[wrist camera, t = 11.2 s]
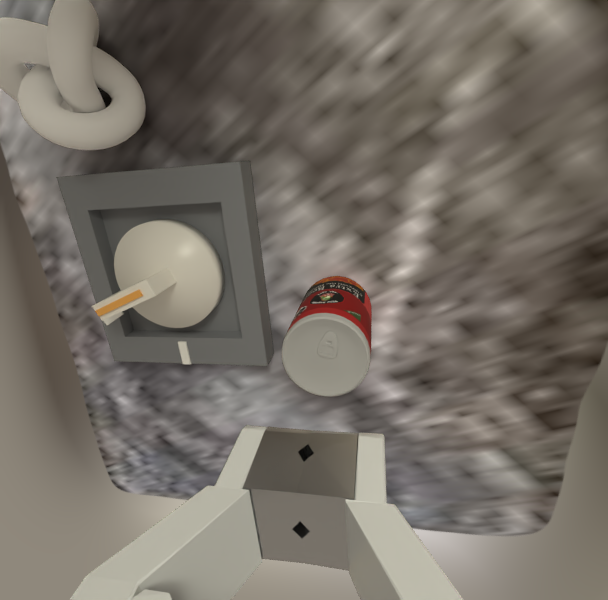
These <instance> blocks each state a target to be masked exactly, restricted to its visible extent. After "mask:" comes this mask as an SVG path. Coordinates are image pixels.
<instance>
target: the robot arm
mask: <svg viewBox="0 0 608 600" xmlns="http://www.w3.org/2000/svg"><path fill="white" fill-rule="evenodd" d="M262 559H270V560H280V561H290V562H299V563H307V564H313V565H319V566H325V567H330V568H337V569H342V570H348V571H349V574H350V576H351V578H352V581H353V583H354V585H355V588H356V590H357V593H358V595H359V597H360V599H361V600H463V598H462V597H461V596H460V594H459V593H458V591H457V590H456V589H455V587H454V586H453V584H452V583H451V582H450V580H449V579H448V578H447V576H446V575H445V574H444V572H443V571H442V569H441V568H440V566H439V565H438V564H437V562H436V561H435V560H434V558H433V557H432V555H431V554H430V553H429V551H428V550H427V549H426V547H425V546H424V544H423V543H422V542H421V540H420V539H419V537H418V536H417V535H416V533H415V532H414V531H413V529H412V528H411V526H410V525H409V524H408V522H407V521H406V519H405V518H404V517H403V515H402V514H401V512H400V511H399V510H398V508H397V507H396V506H395V505H394V504H387V502H386V472H385V443H384V436H383V434H375V433H348V432H330V431H311V430H300V429H289V428H278V427H261V426H250V425H246V426H245V427H244V428H243V429H242V430H241V432H240V434H239V436H238V439H237V441H236V443H235V445H234V447H233V449H232V451H231V453H230V455H229V457H228V459H227V461H226V463H225V465H224V468H223V470H222V472H221V474H220V476H219V478H218V480H217V482H216V484H215V486H206V487H205V488H204V489H202V490H201V491H200V492H198V493H197V494H196V495H194V496H193V497H192V498H190V499H189V500H188V501H186V502H185V503H184V504H182V505H181V506H180V507H178V508H177V509H175V510H174V511H173V512H172V513H170V514H169V515H167V516H166V517H165V518H163V519H162V520H161V521H159V522H158V523H157V524H155V525H154V526H153V527H151V528H150V529H149V530H147V531H146V532H145V533H143V534H142V535H140V536H139V537H138V538H136V539H135V540H134V541H132V542H131V543H130V544H128V545H127V546H126V547H124V548H123V549H122V550H120V551H119V552H118V553H116V554H115V555H114V556H112V557H111V558H110V559H108V560H107V561H106V562H104V563H103V564H102V565H100V566H99V567H97V568H96V569H95V570H94V571H92V572H91V573H89V574H88V575H87V576H86V577H85V578H84V580H83V581H82V583H81V584H80V586H79V587H78V588H77V590H76V592H75V593H74V594H73V596H72V597H71V599H70V600H231V599H232V598H233V597H234V596H235V594H236V593H237V592H238V591H239V589H240V588H241V587H242V586H243V585H244V583H245V582H246V581H247V580H248V578H249V577H250V576H251V575H252V574H253V572H254V571H255V570H256V568H257V567H258V566H259V565H260V564H261V563H262Z"/></svg>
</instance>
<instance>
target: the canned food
mask: <svg viewBox="0 0 608 600" xmlns="http://www.w3.org/2000/svg"><path fill="white" fill-rule="evenodd" d="M370 358H371V303H370V299H369V297H368V295H367V293H366V292H365V291H364V289H363V288H362V287H361V286H360V285H359V284H357V283H356V282H355V281H353V280H351V279H349V278H346V277H340V276H333V277H328V278H324V279H322V280H320V281H318V282H316V283H315V284H314V285H313V286H311V288H310V289H309V290H308V291H307V293H306V295H305V297H304V299H303V301H302V303H301V305H300V307H299V309H298V311H297V313H296V315H295V317H294V319H293V321H292V323H291V325H290V327H289V329H288V331H287V334H286V336H285V339H284V342H283V346H282V362H283V366H284V368H285V371H286V373H287V374H288V376H289V377H290V379H291V380H292V381H293V382H294V383H295V384H296V385H297V386H299V387H300V388H301V389H303V390H305V391H307V392H308V393H311V394H314V395H318V396H324V397H334V396H339V395H343V394H345V393H348V392H350V391H351V390H353V389H355V388H356V387H357V386H358V385H359V384H360V383H361V382H362V381H363V379H364V378H365V376H366V374H367V371H368V369H369V364H370Z"/></svg>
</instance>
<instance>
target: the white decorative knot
mask: <svg viewBox="0 0 608 600" xmlns="http://www.w3.org/2000/svg"><path fill="white" fill-rule="evenodd" d="M98 37H99V20H98V14H97V12H96V11H95V9H94V7H93V5H92V3H91V2H90V1H89V0H55V2H54V5H53V7H52V10H51V12H50V16H49V20H48V26H46V25H43V24H39V23H35V22H30V21H27V20H23V19H17V18H7V17H3V18H0V87H1V89H2V90H4V91H5V92H6V93H7V94H8V95H10V96H11V97H12V98H13V99H15V100H16V101H17V102H18V104H19V107H20V110H21V114H22V116H23V118H24V119H25V121H26V122H27V123H28V124H29V125H30V126H31V127H32V128H33V129H34V130H35V131H36V132H37V133H38V134H40V135H41V136H42V137H43V138H45V139H47V140H49V141H51V142H53V143H55V144H58V145H60V146H63V147H67V148H72V149H77V150H99V149H106V148H109V147H113V146H116V145H118V144H120V143H122V142H124V141H126V140H127V139H129V138H130V137H131V136H132V135H133V134H135V133H136V132H137V131H138V129H139V128H140V127H141V125H142V124H143V121H144V118H145V112H146V105H145V99H144V94H143V92H142V89H141V87H140V85H139V83H138V82H137V80H136V79H135V77H134V76H133V75H132V74H131V73H130V72H129V71H128V70H127V69H126V68H125V67H124V66H123V65H122V64H121V63H119V62H118V61H117V60H116V59H115V58H113V57H112V56H110V55H109V54H107V53H106V52H104V51H103V50H101V49H99V48H97V47H96V46H97V42H98ZM24 63H31V64H36V65H35V66H34V67H33V68H32V69H31V70H29V69H28V68H27V67H26V66H25V64H24ZM97 87H99V88H101V89H102V90H104V91H105V92H107V93H108V94H109V95H110V97H111V98H112V101H111V104H110V105H109V106H108V107H107V108H106V106H105V103H104V101H103V99H102V96H101V94H100V92H99V90H98V88H97Z"/></svg>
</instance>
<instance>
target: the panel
mask: <svg viewBox="0 0 608 600" xmlns="http://www.w3.org/2000/svg"><path fill="white" fill-rule="evenodd" d="M57 180H58V183H59V186H60V190H61V193H62V196H63V199H64V202H65V205H66V209H67V212H68V215H69V218H70V221H71V225H72V228H73V231H74V234H75V237H76V240H77V244H78V247H79V250H80V253H81V256H82V259H83V263H84V266H85V269H86V272H87V275H88V278H89V282H90V285H91V288H92V291H93V294H94V298H95V301H96V304H97V303H99V302H100V301H102V300H104V299H106V298H108V297H110V296H111V295H113V294H115V293H117V292H119V291H121V290H120V288H119V285H118V283H117V280H116V276H115V270H114V257H115V252H116V249H117V246H118V244H119V242H120V240H121V239H122V237H123V236H124V235H125V234H126V233H127V232H128V231H129V230H131V229H132V228H134V227H136V226H138V225H140V224H143V223H146V222H150V221H153V220H157V219H173V220H178V221H181V222H184V223H187V224H189V225H191V226H193V227H194V228H196V229H197V230H199V231H200V232H201V233H202V234H204V235H205V236H206V237H207V238H208V239H209V241H210V242H211V243H212V244H213V246H214V247H215V249H216V250H217V252H218V254H219V256H220V258H221V261H222V264H223V268H224V272H225V287H224V292H223V295H222V298H221V300H220V302H219V303H218V305H217V306H216V307H215V308H214V309H213V310H212V311H211V312H210V313H209V314H208V315H207V316H206V317H205V318H204V319H203V320H202V321H200V322H199V323H197V324H195V325H192V326H189V327H184V328H170V327H165V326H161V325H158V324H156V323H154V322H152V321H150V320H148V319H146V318H145V317H143V316H142V315H141V314H139V313H138V312H137V311H136V310H135V309H134V308H133V307H131V308H129V309H127V310H124V311H122V312H120V313H118V314H116V315H114V316H112V317H110V318H107V319H105V320H103V321H102V323H103V326H104V329H105V332H106V336H107V339H108V342H109V345H110V348H111V352H112V355H113V358H114V361H125V362H156V363H183V364H190V365H191V364H220V365H251V366H268V364H269V362H270V360H271V358H272V356H273V354H274V349H273V341H272V333H271V325H270V317H269V309H268V301H267V293H266V285H265V277H264V269H263V261H262V253H261V245H260V237H259V229H258V221H257V213H256V205H255V197H254V189H253V181H252V173H251V165H250V161H241V162H229V163H218V164H206V165H194V166H182V167H170V168H159V169H147V170H135V171H123V172H112V173H100V174H88V175H76V176H65V177H57Z"/></svg>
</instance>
